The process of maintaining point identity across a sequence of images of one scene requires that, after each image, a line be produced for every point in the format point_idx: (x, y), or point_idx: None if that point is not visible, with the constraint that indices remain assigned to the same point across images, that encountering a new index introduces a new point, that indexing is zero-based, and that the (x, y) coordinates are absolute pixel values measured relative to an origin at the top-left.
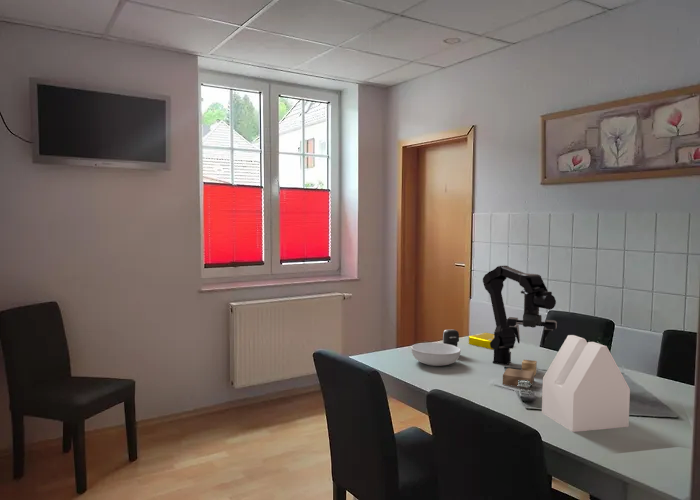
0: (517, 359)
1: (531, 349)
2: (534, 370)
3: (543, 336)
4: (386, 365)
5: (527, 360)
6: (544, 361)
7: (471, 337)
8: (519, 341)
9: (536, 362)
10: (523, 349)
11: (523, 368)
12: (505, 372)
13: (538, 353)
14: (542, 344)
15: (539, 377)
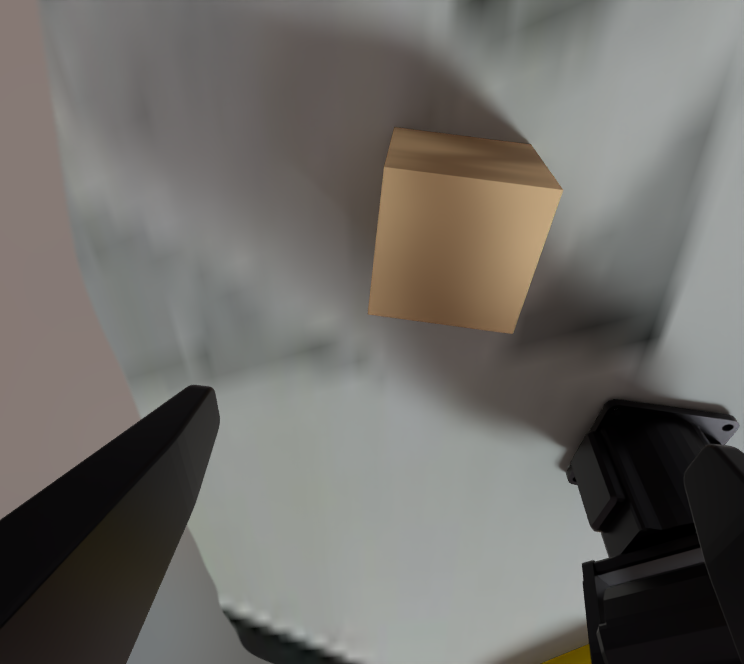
0: (502, 517)
1: (407, 642)
2: (394, 143)
3: (29, 585)
4: None
5: (472, 306)
6: (334, 511)
7: None
8: (708, 499)
9: (369, 298)
10: (447, 640)
11: (524, 163)
12: None
13: (373, 606)
14: (199, 401)
15: (344, 97)
